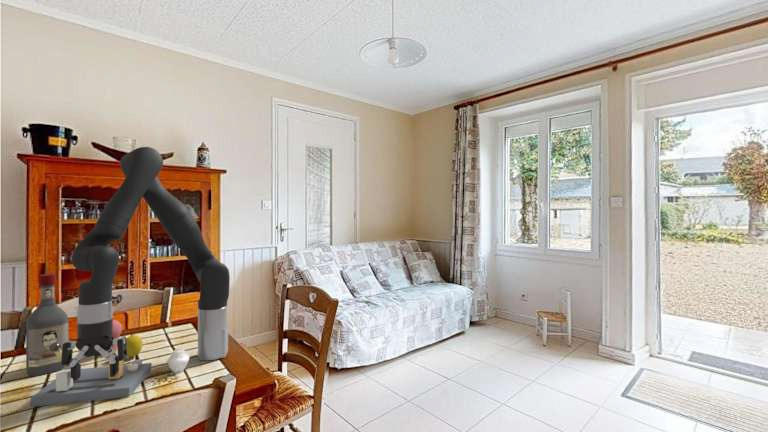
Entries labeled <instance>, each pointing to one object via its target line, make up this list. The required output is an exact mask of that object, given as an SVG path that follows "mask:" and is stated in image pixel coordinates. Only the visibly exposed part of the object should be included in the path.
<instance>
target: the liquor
mask: <svg viewBox="0 0 768 432" xmlns="http://www.w3.org/2000/svg"><path fill="white" fill-rule="evenodd" d="M55 285H56V273H44V274H43V273H42V274H39V285H38V286H40V301H39V303H38V304H39V305H38V306H37V307H36V308H35V309H34V310H33V312H31V313H30V314H29V315H28V316H27V318H26V321H25V323H26V325H25V329H26V331H25V335H26V336H25V337H26V338H25V339H26V341H25V342H26V343H25V345H26V346H25V347H26V348H25V349H26V350H25V354H26V355H25V361H26V363H25V369H26V371H27V374H28V375H29V376H30V377H35V376H36V377H40V376H43V375H47V374H51V373H55V372H60V371H62V370H64V368H65V367H64V366H63V365H61V361H60V360H59V358H58V357H57V356H56V354H55V353H54V352H52V351H50V350H49V346H50V345H51V344H52V343H55V342H58V343H60V344H61V350H62V346H63V344H64V343H65V342H67V341H69V316H68V314H67V313H66V311H64V310H63V309H62V308H61V307H60V306H59V305H57V304H56V299H55V298H56V297H55Z"/></svg>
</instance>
